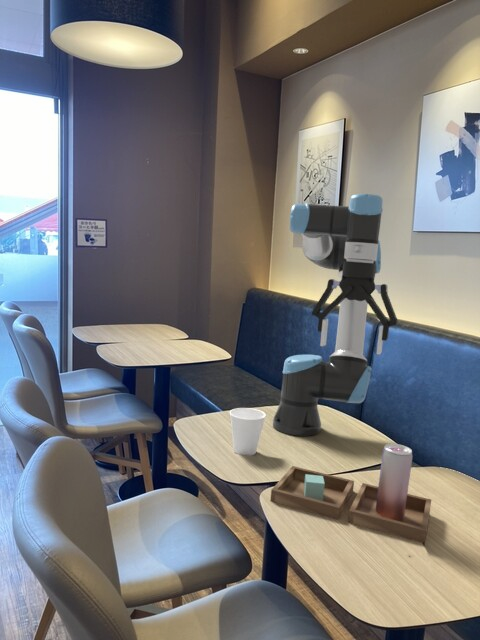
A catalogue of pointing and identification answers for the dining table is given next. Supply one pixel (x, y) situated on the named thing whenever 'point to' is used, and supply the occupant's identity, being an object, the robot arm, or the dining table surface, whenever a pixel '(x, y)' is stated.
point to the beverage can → (394, 481)
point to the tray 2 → (408, 527)
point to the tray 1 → (293, 495)
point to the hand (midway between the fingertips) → (350, 349)
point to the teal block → (314, 487)
